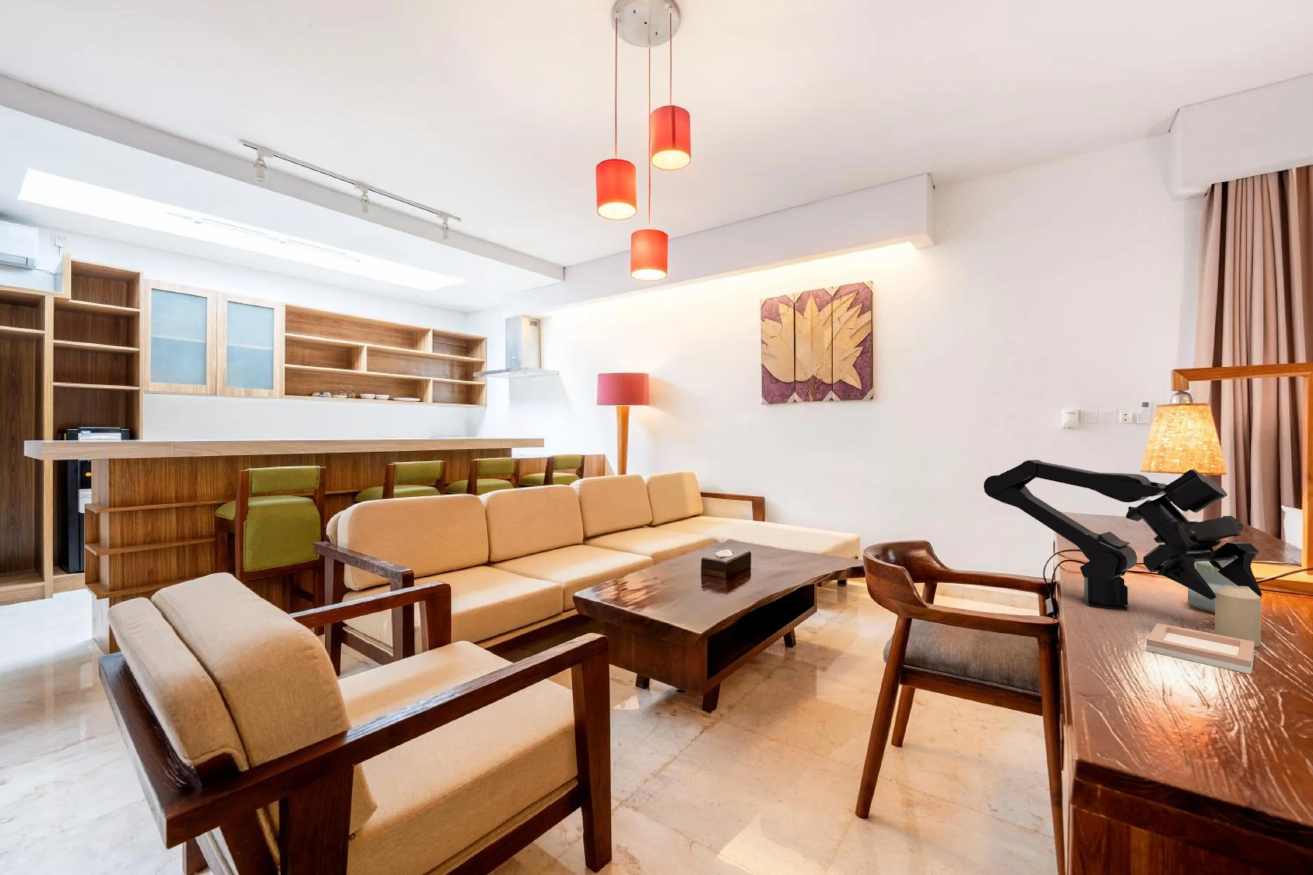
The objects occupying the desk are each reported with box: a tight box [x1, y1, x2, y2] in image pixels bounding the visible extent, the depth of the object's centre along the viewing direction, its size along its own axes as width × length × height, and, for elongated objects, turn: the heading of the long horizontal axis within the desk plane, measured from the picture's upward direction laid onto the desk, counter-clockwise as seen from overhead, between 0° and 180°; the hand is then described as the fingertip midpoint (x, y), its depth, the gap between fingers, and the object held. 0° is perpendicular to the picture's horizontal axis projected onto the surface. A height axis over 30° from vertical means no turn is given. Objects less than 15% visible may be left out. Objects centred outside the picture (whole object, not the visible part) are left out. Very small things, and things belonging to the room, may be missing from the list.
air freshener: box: [1187, 561, 1239, 613], centre depth 112 cm, size 11×8×10 cm
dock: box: [1145, 622, 1255, 675], centre depth 90 cm, size 12×12×2 cm
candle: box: [1214, 585, 1262, 648], centre depth 95 cm, size 6×6×10 cm
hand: (1236, 597), depth 95 cm, fingers open, 9 cm apart
